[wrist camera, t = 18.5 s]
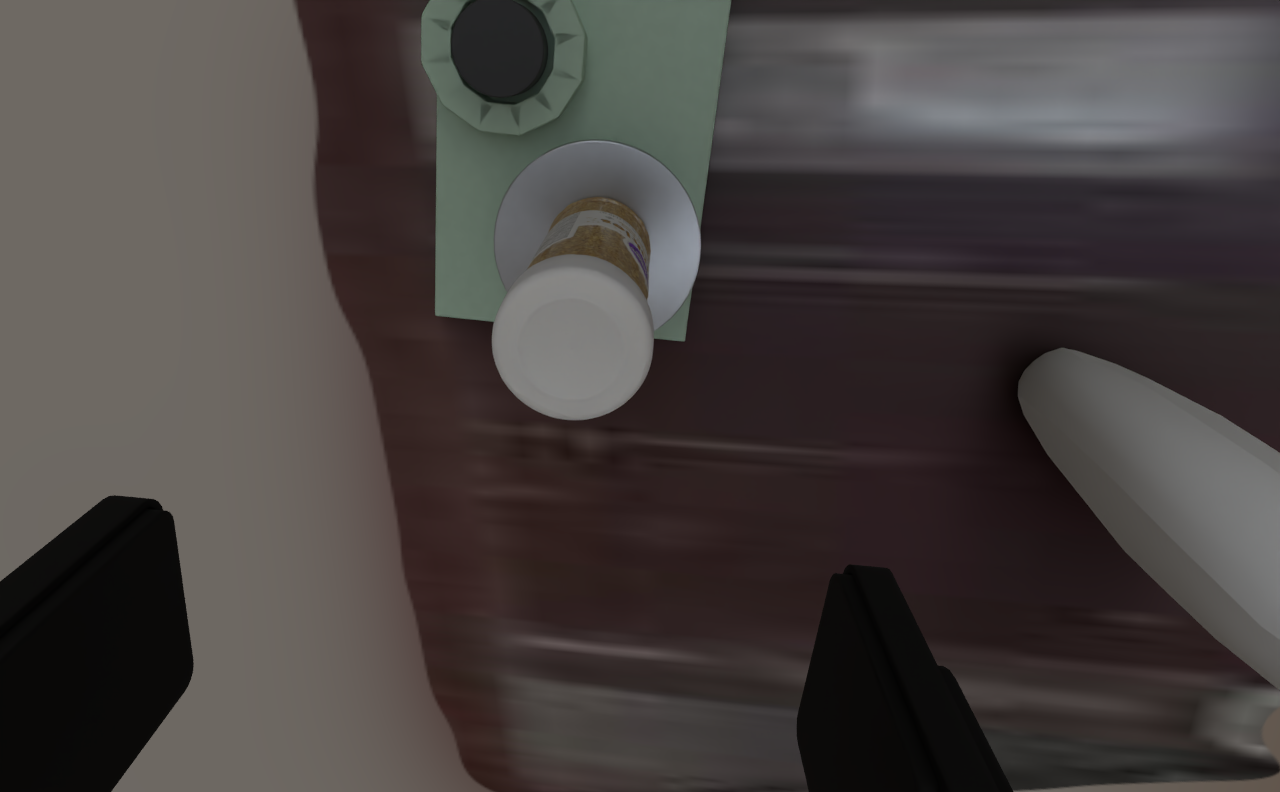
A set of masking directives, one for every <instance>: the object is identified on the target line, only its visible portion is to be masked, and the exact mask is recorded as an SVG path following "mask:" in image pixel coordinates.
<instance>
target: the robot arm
mask: <svg viewBox="0 0 1280 792" xmlns="http://www.w3.org/2000/svg"><path fill="white" fill-rule="evenodd" d="M192 673H193V655H192V648H191V640H190V633H189V626H188V619H187V611H186V604H185V597H184V590H183V583H182V575H181V568H180V561H179V554H178V546H177V539H176V532H175V525H174V520H173V516H172V515H171V513H170V512H168V511H163V509H162V506H161V505H160V503H159V502H158V501H156V500H154V499H146V498H136V497H125V496H108V497H107V498H105V499H103V500H102V501H101V502H99V503H98V504H97V505H95V506H94V507H93V508H92V509H91V510H89V511H88V512H87V513H85V514H84V515H83V516H82V517H80V518H79V519H78V520H77V521H75V522H74V523H73V524H72V525H70V526H69V527H68V528H67V529H66V530H64V531H63V532H62V533H60V534H59V535H58V536H57V537H56V538H54V539H53V540H52V541H51V542H49V543H48V544H47V545H45V546H44V547H43V548H42V549H40V550H39V551H38V552H37V553H35V554H34V555H33V556H32V557H30V558H29V559H28V560H27V561H25V562H24V563H23V564H22V565H20V566H19V567H18V568H17V569H15V570H14V571H13V572H12V573H10V574H9V575H8V576H7V577H6V578H4V579H3V580H2V581H0V792H111V791H112V790H113V788H114V787H115V786H116V784H117V783H118V781H119V780H120V779H121V777H122V776H123V775H124V773H125V772H126V771H127V769H128V768H129V767H130V765H131V764H132V763H133V761H134V760H135V758H136V757H137V756H138V754H139V753H140V752H141V750H142V749H143V748H144V746H145V745H146V743H147V742H148V741H149V739H150V738H151V737H152V735H153V734H154V732H155V731H156V730H157V728H158V727H159V726H160V724H161V723H162V722H163V720H164V719H165V718H166V716H167V715H168V714H169V712H170V710H171V709H172V708H173V707H174V705H175V704H176V703H177V701H178V700H179V698H180V697H181V696H182V694H183V693H184V692H185V690H186V688H187V687H188V685H189V682H190V680H191V676H192ZM797 740H798V746H799V750H800V754H801V759H802V763H803V767H804V772H805V776H806V780H807V785H808V789H809V792H1013V790H1012V788H1011V786H1010V784H1009V782H1008V780H1007V778H1006V777H1005V775H1004V773H1003V771H1002V769H1001V767H1000V765H999V763H998V761H997V759H996V757H995V755H994V753H993V751H992V749H991V747H990V745H989V743H988V741H987V739H986V737H985V735H984V733H983V731H982V730H981V728H980V726H979V724H978V722H977V720H976V718H975V716H974V714H973V712H972V710H971V708H970V706H969V704H968V702H967V700H966V698H965V696H964V694H963V692H962V690H961V688H960V686H959V685H958V683H957V681H956V679H955V677H954V676H953V674H952V673H951V671H950V670H949V669H947V668H945V667H944V666H937V663H936V661H935V659H934V657H933V655H932V653H931V651H930V649H929V647H928V645H927V643H926V641H925V639H924V637H923V635H922V633H921V631H920V629H919V627H918V625H917V623H916V621H915V619H914V617H913V615H912V613H911V611H910V609H909V607H908V605H907V603H906V600H905V598H904V596H903V594H902V592H901V590H900V588H899V586H898V584H897V582H896V580H895V578H894V576H893V574H892V572H891V571H890V570H889V569H887V568H881V567H871V566H860V565H848V566H847V567H846V568H845V570H844V573H843V574H837V573H835V574H833V575H832V577H831V579H830V583H829V587H828V591H827V595H826V599H825V603H824V608H823V612H822V616H821V620H820V624H819V628H818V632H817V637H816V641H815V645H814V649H813V653H812V657H811V662H810V666H809V670H808V674H807V678H806V682H805V687H804V691H803V695H802V699H801V703H800V707H799V711H798V717H797Z"/></svg>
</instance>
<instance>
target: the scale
mask: <svg viewBox="0 0 1280 792" xmlns="http://www.w3.org/2000/svg"><path fill="white" fill-rule="evenodd" d="M474 1H476V0H430V1H429V3H428V4H427V6H426V8H425V10H424V11H423V13H422V17H421V62H422V66H423V68H424V70H425V72H426V73H427V75H428V77H429V79H430V81H431V83H432V85H433V87H434V89H435V91H436V93H437V137H436V259H435V315H436V316H443V317H452V318H462V319H471V320H481V321H491V322H494V321H495V318H496V315H497V312H498V310H499V308H500V305H501V303H502V301H503V299H504V298H505V296H506V294H507V291H506V290H505V287H504V285H503V283H502V281H501V278H500V275H499V272H498V269H497V265H496V260H495V254H494V229H495V222H496V218H497V214H498V210H499V208H500V205H501V202H502V200H503V197H504V196H505V194H506V192H507V190H508V188H509V187H510V185H511V184H512V182H513V181H514V180H515V178H516V177H517V176H518V175H519V174H520V173H521V172H522V171H523V170H524V169H525V168H526V167H527V166H528V165H529V164H530V163H531V162H532V161H534V160H535V159H536V158H538V157H539V156H540V155H542V154H544V153H546V152H548V151H549V150H551V149H553V148H556V147H558V146H561V145H563V144H566V143H571V142H575V141H579V140H589V139H602V140H612V141H617V142H622V143H625V144H628V145H631V146H634V147H637V148H639V149H641V150H643V151H645V152H647V153H649V154H650V155H652V156H653V157H655V158H656V159H658V160H659V161H660V162H662V163H663V164H664V165H665V166H666V167H667V168H668V169H670V170H671V172H672V173H673V174H674V175H675V176H676V177H677V178H678V180H679V181H680V182H681V184H682V185H683V187H684V188H685V190H686V191H687V193H688V195H689V197H690V199H691V201H692V203H693V206H694V208H695V211H696V214H697V217H698V221H699V226H700V227H701V220H702V212H703V205H704V198H705V191H706V183H707V176H708V169H709V161H710V154H711V147H712V139H713V132H714V125H715V117H716V110H717V103H718V95H719V88H720V81H721V73H722V66H723V59H724V51H725V44H726V37H727V29H728V22H729V15H730V7H731V0H513V1H515V2H517V3H519V4H521V5H523V6H524V7H526V8H527V9H529V10H530V11H531V12H532V13H533V14H534V15H535V16H536V17H537V19H538V20H539V22H540V23H541V25H542V27H543V29H544V32H545V34H546V38H547V42H548V60H547V64H546V68H545V70H544V73H543V75H542V76H541V78H540V79H539V81H538V82H537V83H536V84H535V85H534V86H533V87H532V88H531V89H529V90H528V91H526V92H524V93H522V94H519V95H516V96H512V97H506V98H495V97H490V96H487V95H484V94H482V93H480V92H478V91H476V90H475V89H473V88H472V87H471V86H470V85H469V84H468V83H467V82H466V81H465V80H464V79H463V78H462V76H461V75H460V73H459V71H458V70H457V68H456V65H455V63H454V60H453V56H452V50H451V37H452V32H453V28H454V25H455V23H456V21H457V18H458V17H459V15H460V14H461V12H462V11H463V10H464V9H465V8H466V7H467V6H468V5H470V4H471V3H473V2H474ZM691 293H692V289H691V291H690V293H689V295H688V297H687V299H686V300H685V302H684V303H683V305H682V306H681V308H680V309H679V310H678V311H677V312H676V313H675V314H674V316H673V317H672V318H671V319H670V320H668V321H667V322H666V323H665V324H664V325H663V326H661V327H660V328H658V329H657V330H655V331H654V339H664V340H674V341H685V337H686V330H687V322H688V315H689V308H690V300H691Z"/></svg>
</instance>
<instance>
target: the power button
mask: <svg viewBox="0 0 1280 792" xmlns="http://www.w3.org/2000/svg"><path fill="white" fill-rule="evenodd" d="M451 50H452V56H453V60H454V63H455V65H456V68H457V70H458V71H459V73H460V75H461V76H462V78H463V79H464V80H465V81H466V82H467V83H468V84H469V85H470V86H471V87H472V88H473V89H475V90H476V91H478V92H480V93H482V94H484V95H487V96H490V97H495V98H506V97H512V96H516V95H519V94H522V93H524V92H526V91H528V90H529V89H531V88H532V87H533V86H534V85H535V84H536V83H537V82H538V81H539V79H540V78H541V76H542V75H543V73H544V70H545V68H546V64H547V60H548V42H547V38H546V34H545V32H544V29H543V27H542V25H541V23H540V22H539V20H538V19H537V17H536V16H535V15H534V14H533V13H532V12H531V11H530V10H529V9H527V8H526V7H524V6H523V5H521V4H519V3H517V2H515V1H513V0H476V1H474V2H473V3H471V4H470V5H468V6H467V7H466V8H465V9H464V10H463V11H462V12H461V14H460V15H459V17H458V18H457V21H456V23H455V25H454V28H453V32H452V37H451Z"/></svg>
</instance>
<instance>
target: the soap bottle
mask: <svg viewBox="0 0 1280 792" xmlns="http://www.w3.org/2000/svg"><path fill="white" fill-rule="evenodd" d="M1018 399H1019V402H1020V405H1021V408H1022V411H1023V414H1024V416H1025V418H1026V420H1027V421H1028V423H1029V425H1030V426H1031V428H1032V430H1033V431H1034V433H1035V435H1036V436H1037V438H1038V440H1039V441H1040V443H1041V445H1042V446H1043V448H1044V450H1045V451H1046V453H1047V455H1048V456H1049V457H1050V458H1051V460H1052V461H1053V462H1054V463H1055V465H1056V466H1057V467H1058V468H1059V470H1060V471H1061V472H1062V473H1063V475H1064V476H1065V477H1066V478H1067V480H1068V481H1069V482H1070V483H1071V485H1072V486H1073V487H1074V489H1075V490H1076V491H1077V492H1078V494H1079V495H1080V496H1081V497H1082V499H1083V500H1084V501H1085V502H1086V504H1087V505H1088V506H1089V507H1090V509H1091V510H1092V511H1093V512H1094V514H1095V515H1096V516H1097V517H1098V519H1099V520H1100V521H1101V522H1102V524H1103V525H1104V526H1105V527H1106V529H1107V530H1108V531H1109V532H1110V534H1111V535H1112V536H1113V537H1114V539H1115V540H1116V541H1117V542H1118V544H1119V545H1120V546H1121V547H1122V549H1123V550H1124V551H1125V552H1126V553H1127V554H1128V555H1129V556H1130V557H1131V558H1132V559H1133V560H1134V561H1135V562H1136V563H1137V564H1138V565H1139V566H1140V567H1141V568H1142V569H1143V570H1144V571H1145V572H1146V573H1148V574H1149V575H1150V576H1151V577H1152V578H1153V579H1154V580H1155V581H1156V582H1157V583H1158V584H1159V585H1160V586H1161V587H1162V588H1163V589H1164V590H1165V591H1166V592H1167V593H1168V594H1169V595H1170V596H1171V597H1172V598H1173V599H1174V600H1175V601H1177V602H1178V603H1179V604H1180V605H1181V606H1182V607H1183V608H1184V609H1185V610H1186V611H1187V612H1188V613H1189V614H1190V615H1191V616H1192V617H1193V618H1194V619H1195V620H1197V621H1198V622H1199V623H1200V624H1201V625H1202V626H1203V627H1204V628H1205V629H1206V630H1207V631H1208V632H1209V633H1210V634H1211V635H1212V636H1213V637H1214V638H1215V639H1217V640H1218V641H1219V642H1220V643H1222V644H1223V645H1224V646H1225V647H1227V648H1228V649H1229V650H1230V651H1232V652H1233V653H1234V654H1235V655H1236V656H1238V657H1239V658H1240V659H1241V660H1243V661H1244V662H1245V663H1246V664H1248V665H1249V666H1250V667H1251V668H1253V669H1254V670H1255V671H1256V672H1258V673H1259V674H1260V675H1261V676H1263V677H1264V678H1265V679H1266V680H1268V681H1269V682H1270V683H1271V684H1273V685H1274V686H1275V687H1276V688H1278V689H1279V690H1280V453H1279V452H1278V451H1276V450H1274V449H1273V448H1271V447H1270V446H1268V445H1267V444H1265V443H1263V442H1262V441H1260V440H1259V439H1257V438H1255V437H1254V436H1252V435H1251V434H1249V433H1248V432H1246V431H1244V430H1243V429H1241V428H1240V427H1238V426H1236V425H1235V424H1233V423H1232V422H1230V421H1229V420H1227V419H1225V418H1224V417H1222V416H1221V415H1219V414H1217V413H1215V412H1213V411H1211V410H1209V409H1207V408H1205V407H1203V406H1201V405H1199V404H1197V403H1195V402H1193V401H1191V400H1189V399H1187V398H1185V397H1183V396H1181V395H1179V394H1178V393H1176V392H1174V391H1172V390H1170V389H1168V388H1166V387H1164V386H1162V385H1160V384H1158V383H1156V382H1154V381H1152V380H1150V379H1148V378H1146V377H1144V376H1142V375H1139V374H1137V373H1135V372H1133V371H1130V370H1128V369H1126V368H1124V367H1121V366H1119V365H1117V364H1114V363H1112V362H1109V361H1106V360H1103V359H1100V358H1097V357H1094V356H1091V355H1088V354H1085V353H1082V352H1079V351H1076V350H1070V349H1066V348H1059V349H1056V350H1053V351H1050V352H1047V353H1044V354H1043V355H1041V356H1040V357H1039V358H1037V359H1036V360H1034V361H1033V362H1032V363H1031V364H1030V365H1029V366H1028V367H1027V368H1026V369H1025V370H1024V372H1023V374H1022V376H1021V378H1020V380H1019V382H1018Z"/></svg>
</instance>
